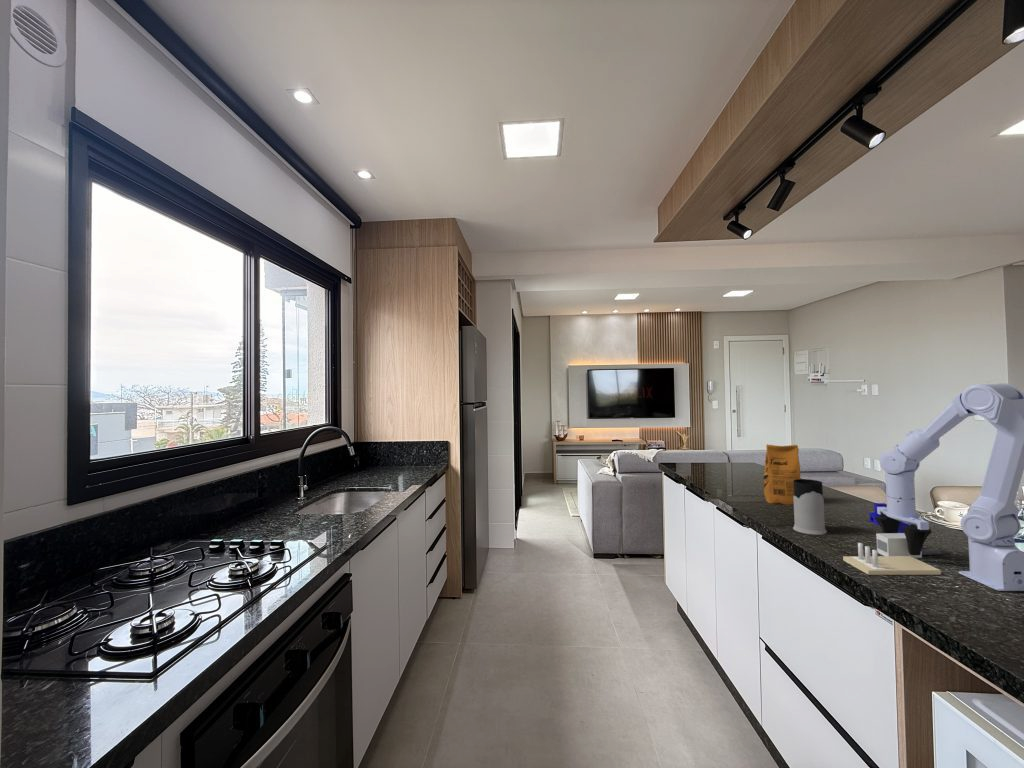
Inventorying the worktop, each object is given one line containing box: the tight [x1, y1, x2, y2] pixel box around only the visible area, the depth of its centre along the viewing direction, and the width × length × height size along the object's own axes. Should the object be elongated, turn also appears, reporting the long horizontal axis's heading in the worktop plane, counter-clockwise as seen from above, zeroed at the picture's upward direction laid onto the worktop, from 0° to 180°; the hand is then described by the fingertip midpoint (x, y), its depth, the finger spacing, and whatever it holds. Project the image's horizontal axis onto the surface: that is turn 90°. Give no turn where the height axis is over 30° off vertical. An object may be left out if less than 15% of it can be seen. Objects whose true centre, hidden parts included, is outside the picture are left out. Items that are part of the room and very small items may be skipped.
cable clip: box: [868, 502, 910, 533], centre depth 140 cm, size 12×4×6 cm, turn 168°
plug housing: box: [875, 532, 942, 559], centre depth 117 cm, size 4×14×5 cm, turn 86°
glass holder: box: [792, 478, 828, 536], centre depth 142 cm, size 9×14×15 cm, turn 167°
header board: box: [842, 542, 942, 576], centre depth 110 cm, size 9×16×5 cm, turn 86°
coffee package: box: [762, 443, 801, 506], centre depth 173 cm, size 10×12×22 cm
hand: (902, 549), depth 117 cm, fingers open, 7 cm apart
